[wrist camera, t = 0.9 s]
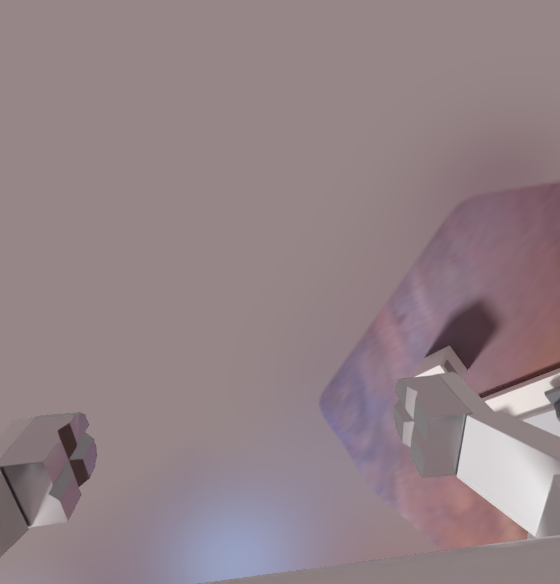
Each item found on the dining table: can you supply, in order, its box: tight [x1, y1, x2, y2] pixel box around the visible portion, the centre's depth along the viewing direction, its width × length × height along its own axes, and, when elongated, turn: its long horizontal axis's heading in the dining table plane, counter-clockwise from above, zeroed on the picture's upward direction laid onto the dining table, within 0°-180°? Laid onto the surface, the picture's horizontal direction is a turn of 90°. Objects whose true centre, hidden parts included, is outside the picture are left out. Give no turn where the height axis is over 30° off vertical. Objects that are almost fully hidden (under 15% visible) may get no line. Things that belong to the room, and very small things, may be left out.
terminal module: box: [413, 345, 468, 381], centre depth 45 cm, size 4×4×8 cm
